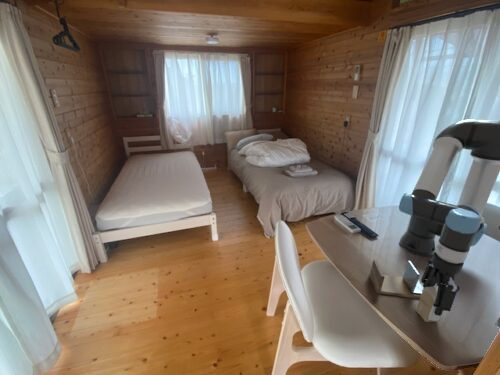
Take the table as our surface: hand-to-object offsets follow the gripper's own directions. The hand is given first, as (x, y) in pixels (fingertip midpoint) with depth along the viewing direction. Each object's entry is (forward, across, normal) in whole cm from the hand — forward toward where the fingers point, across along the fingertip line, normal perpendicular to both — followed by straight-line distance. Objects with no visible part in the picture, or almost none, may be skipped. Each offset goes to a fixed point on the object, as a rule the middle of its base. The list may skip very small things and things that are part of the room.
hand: (427, 311), depth 84 cm
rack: (+2, -13, -6) cm, 14 cm away
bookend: (+1, -13, +1) cm, 13 cm away
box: (+2, 0, 0) cm, 2 cm away
